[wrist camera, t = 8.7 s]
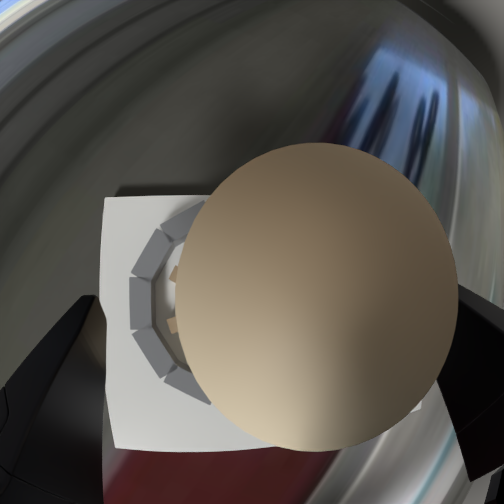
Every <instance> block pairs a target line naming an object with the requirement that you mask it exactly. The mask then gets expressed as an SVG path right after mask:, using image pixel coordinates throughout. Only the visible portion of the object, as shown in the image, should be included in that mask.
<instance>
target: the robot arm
mask: <svg viewBox="0 0 504 504" xmlns="http://www.w3.org/2000/svg"><path fill="white" fill-rule="evenodd" d="M106 341H107V320H106V316H105V313H104V311H103V309H102V306H101V303H100V301H99V299H98V297H97V296H96V295H83V296H81V297H80V298H79V299H78V300H77V301H76V302H75V303H74V304H73V306H72V307H71V308H70V309H69V310H68V311H67V312H66V313H65V314H64V315H63V316H62V317H61V318H60V320H59V321H58V322H57V323H56V324H55V325H54V326H53V327H52V328H51V330H50V331H49V332H48V333H47V334H46V335H45V336H44V337H43V339H42V340H41V341H40V342H39V343H38V344H37V346H36V347H35V348H34V349H33V350H32V351H31V353H30V354H29V355H28V356H27V357H26V359H25V360H24V361H23V362H22V363H21V365H20V366H19V367H18V368H17V370H16V371H15V372H14V373H13V375H12V376H11V377H10V379H9V380H8V381H7V382H6V384H5V387H2V389H1V390H0V504H104V502H103V482H102V431H103V410H104V396H105V384H106ZM436 380H437V383H438V385H439V388H440V391H441V393H442V396H443V398H444V401H445V404H446V406H447V409H448V412H449V415H450V418H451V421H452V423H453V426H454V429H455V433H456V436H457V439H458V443H459V446H460V449H461V453H462V456H463V459H464V463H465V467H466V470H467V474H468V478H469V481H470V482H472V481H474V480H476V479H478V478H480V477H482V476H483V475H485V474H487V473H489V472H491V471H493V470H495V469H496V468H498V467H500V466H502V465H503V464H504V310H503V309H501V308H499V307H498V306H496V305H494V304H493V303H491V302H489V301H487V300H486V299H484V298H482V297H481V296H479V295H477V294H475V293H474V292H472V291H470V290H468V289H466V288H465V287H463V286H461V285H459V284H458V313H457V320H456V327H455V332H454V336H453V340H452V344H451V347H450V350H449V352H448V355H447V358H446V360H445V363H444V365H443V367H442V369H441V371H440V373H439V375H438V377H437V379H436ZM484 504H504V465H503V466H502V467H501V468H500V469H498V470H497V471H496V472H495V473H494V474H493V475H492V476H491V480H490V485H489V489H488V492H487V496H486V500H485V503H484Z"/></svg>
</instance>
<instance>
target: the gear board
mask: <svg viewBox="0 0 504 504" xmlns="http://www.w3.org/2000/svg"><path fill="white" fill-rule="evenodd" d="M210 196H211V195H171V196H133V197H109V198H105V203H104V213H103V224H102V237H101V255H100V303H101V306H102V309H103V311H104V313H105V316H106V320H107V341H106V384H105V388H106V396H107V403H108V410H109V416H110V422H111V427H112V433H113V438H114V443H115V448H123V449H133V450H146V451H165V452H212V451H232V450H245V449H255V448H264V447H272V446H276V445H273V444H270V443H267V442H264V441H262V440H260V439H258V438H256V437H254V436H252V435H250V434H249V433H247V432H245V431H243V430H242V429H240V428H239V427H238V426H236V425H235V424H234V423H232V422H231V421H230V420H229V419H227V418H226V417H225V416H224V415H223V414H222V413H221V412H220V411H219V410H218V409H217V408H216V407H215V406H214V405H213V403H212V402H211V401H210V400H209V399H208V397H207V396H206V394H205V393H204V391H203V390H202V389H201V387H200V386H199V384H198V383H197V381H196V379H195V377H194V375H193V373H192V371H191V369H190V367H189V365H188V363H187V360H186V357H185V354H184V351H183V348H182V345H181V341H180V338H179V333H178V332H176V333H173V334H171V331H170V329H169V326H168V323H167V320H166V319H169V318H172V317H175V316H176V314H175V285H176V283H174V282H172V281H171V280H169V277H170V275H171V273H172V271H173V269H174V267H175V265H176V266H178V264H179V260H180V256H181V253H182V249H183V246H184V242H185V240H186V237H187V235H188V233H189V231H190V228H191V226H192V224H193V222H194V219H195V218H196V216H197V215H198V213H199V211H200V210H201V208H202V207H203V205H204V204H205V202H206V200H207V199H208V198H209V197H210ZM421 403H422V400H421V401H420V402H419V403H418V405H417V406H416V407H415V408H414V409H413V410H412V411H411V412H414V411H417V410H419V409H421ZM411 412H410V413H411Z"/></svg>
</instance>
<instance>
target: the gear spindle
mask: <svg viewBox="0 0 504 504" xmlns="http://www.w3.org/2000/svg"><path fill="white" fill-rule="evenodd" d="M169 280H171V281H172V282H174V283H176V285H175V314H176V316H175V317H172V318H169V319H166V320H167V323H168V326H169V329H170V331H171V334H173V333H176V332H178V333H179V338H180V341H181V345H182V348H183V351H184V354H185V357H186V360H187V363H188V365H189V367H190V369H191V371H192V373H193V375H194V377H195V379H196V381H197V383H198V384H199V386H200V387H201V389H202V390H203V391H204V393H205V394H206V396H207V397H208V399H209V400H210V401H211V402H212V403H213V405H214V406H215V407H216V408H217V409H218V410H219V411H220V412H221V413H222V414H223V415H224V416H225V417H226V418H227V419H229V420H230V421H231V422H232V423H234V424H235V425H236V426H238V427H239V428H240V429H242V430H243V431H245V432H247V433H249V434H250V435H252V436H254V437H256V438H258V439H260V440H262V441H264V442H267V443H270V444H273V445H276V446H279V447H282V448H287V449H292V450H298V451H316V452H320V451H330V450H338V449H342V448H346V447H350V446H354V445H357V444H360V443H362V442H365V441H367V440H370V439H372V438H374V437H376V436H378V435H380V434H381V433H383V432H385V431H387V430H388V429H390V428H391V427H393V426H394V425H395V424H397V423H398V422H399V421H401V420H402V419H403V418H404V417H405V416H406V415H407V414H409V413H410V412H411V411H412V410H413V409H414V408H415V407H416V406H417V405H418V403H419V402H420V401H421V400H422V399H423V397H424V396H425V395H426V394H427V392H428V391H429V389H430V388H431V386H432V385H433V383H434V382H435V380H436V379H437V377H438V375H439V373H440V371H441V369H442V367H443V365H444V363H445V360H446V358H447V355H448V352H449V350H450V347H451V344H452V340H453V336H454V332H455V327H456V320H457V313H458V281H457V273H456V267H455V261H454V257H453V254H452V250H451V246H450V243H449V241H448V238H447V236H446V233H445V231H444V228H443V226H442V224H441V222H440V221H439V219H438V217H437V215H436V213H435V212H434V210H433V209H432V207H431V206H430V204H429V203H428V201H427V200H426V198H425V197H424V196H423V195H422V194H421V192H420V191H419V190H418V189H417V188H416V187H415V186H414V185H413V184H412V183H411V182H410V181H409V180H408V179H407V178H406V177H405V176H404V175H403V174H401V173H400V172H399V171H397V170H396V169H395V168H393V167H392V166H391V165H389V164H387V163H386V162H384V161H382V160H380V159H379V158H377V157H375V156H373V155H370V154H368V153H366V152H363V151H361V150H358V149H354V148H351V147H347V146H344V145H337V144H330V143H303V144H296V145H290V146H286V147H282V148H279V149H275V150H272V151H270V152H267V153H265V154H263V155H261V156H259V157H256V158H254V159H253V160H251V161H249V162H248V163H246V164H245V165H243V166H242V167H240V168H238V169H237V170H236V171H235V172H233V173H232V174H231V175H230V176H229V177H228V178H227V179H225V180H224V181H223V182H222V183H221V184H220V185H219V186H218V187H217V189H216V190H215V191H214V192H213V193H212V194H211V196H210V197H209V198H208V199H207V200H206V202H205V204H204V205H203V207H202V208H201V210H200V211H199V213H198V215H197V216H196V218H195V219H194V222H193V224H192V226H191V228H190V231H189V233H188V235H187V237H186V240H185V242H184V246H183V249H182V253H181V256H180V260H179V264H178V266H176V265H175V267H174V269H173V271H172V273H171V275H170V277H169Z"/></svg>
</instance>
